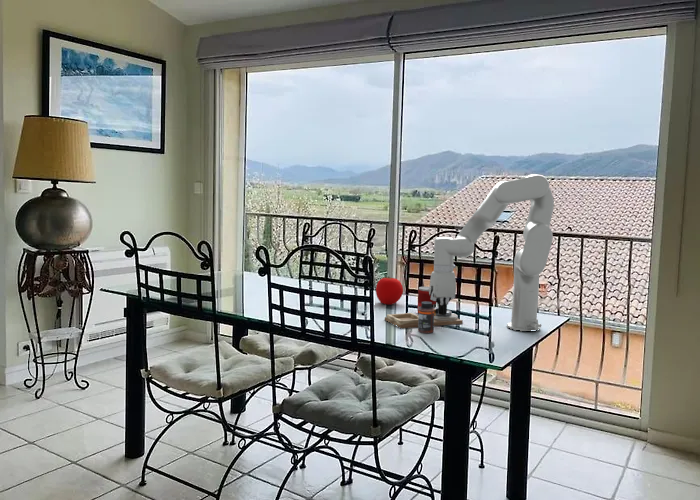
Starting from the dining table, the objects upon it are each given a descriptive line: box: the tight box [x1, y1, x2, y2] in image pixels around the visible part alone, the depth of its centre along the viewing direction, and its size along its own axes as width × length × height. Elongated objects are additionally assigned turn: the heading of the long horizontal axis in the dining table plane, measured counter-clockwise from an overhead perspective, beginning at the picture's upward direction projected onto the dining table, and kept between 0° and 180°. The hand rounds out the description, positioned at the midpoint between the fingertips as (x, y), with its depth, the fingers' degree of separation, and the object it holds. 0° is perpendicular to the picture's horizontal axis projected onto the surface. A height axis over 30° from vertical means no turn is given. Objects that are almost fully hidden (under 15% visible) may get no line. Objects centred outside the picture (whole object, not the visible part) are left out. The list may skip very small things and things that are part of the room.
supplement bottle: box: [417, 301, 435, 334], centre depth 240 cm, size 6×6×11 cm
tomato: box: [375, 275, 404, 305], centre depth 288 cm, size 12×12×13 cm
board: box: [384, 312, 464, 329], centre depth 256 cm, size 14×29×3 cm, turn 113°
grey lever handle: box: [433, 305, 452, 316], centre depth 256 cm, size 15×7×4 cm, turn 145°
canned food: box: [417, 286, 438, 314], centre depth 270 cm, size 8×8×11 cm
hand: (442, 314), depth 252 cm, fingers closed
